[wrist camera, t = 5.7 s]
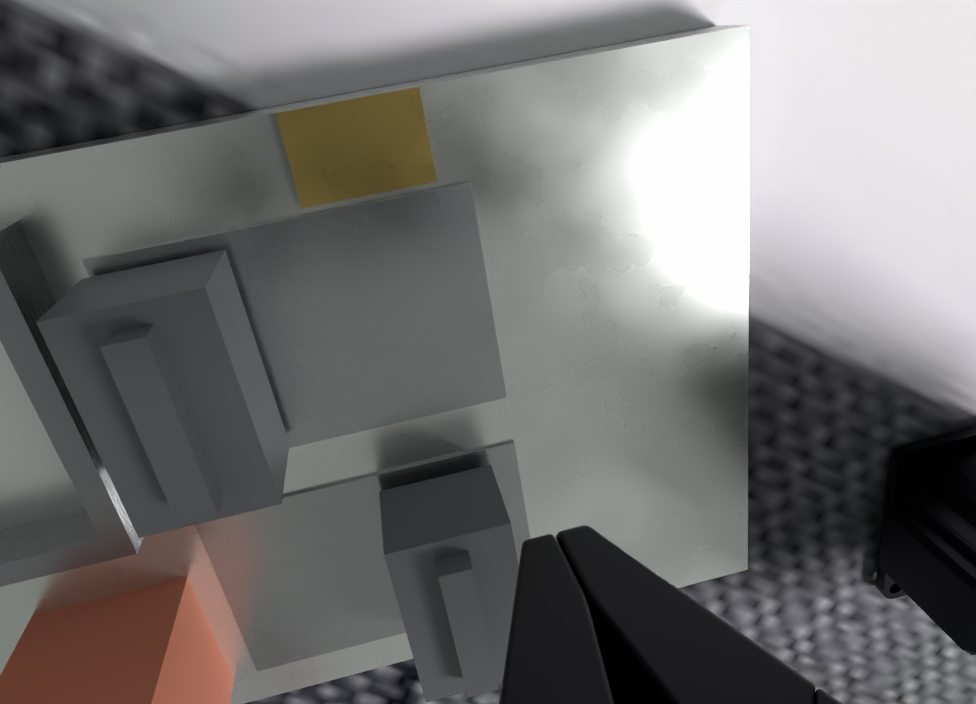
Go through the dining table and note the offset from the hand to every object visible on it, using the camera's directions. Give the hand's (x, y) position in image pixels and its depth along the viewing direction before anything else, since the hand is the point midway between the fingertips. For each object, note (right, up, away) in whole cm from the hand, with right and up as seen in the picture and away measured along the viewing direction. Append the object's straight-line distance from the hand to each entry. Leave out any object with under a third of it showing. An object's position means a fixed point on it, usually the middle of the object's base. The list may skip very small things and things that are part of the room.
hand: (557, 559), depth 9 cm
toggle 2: (-2, -3, +11) cm, 11 cm away
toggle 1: (-8, +2, +7) cm, 11 cm away
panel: (-6, +1, +11) cm, 12 cm away
